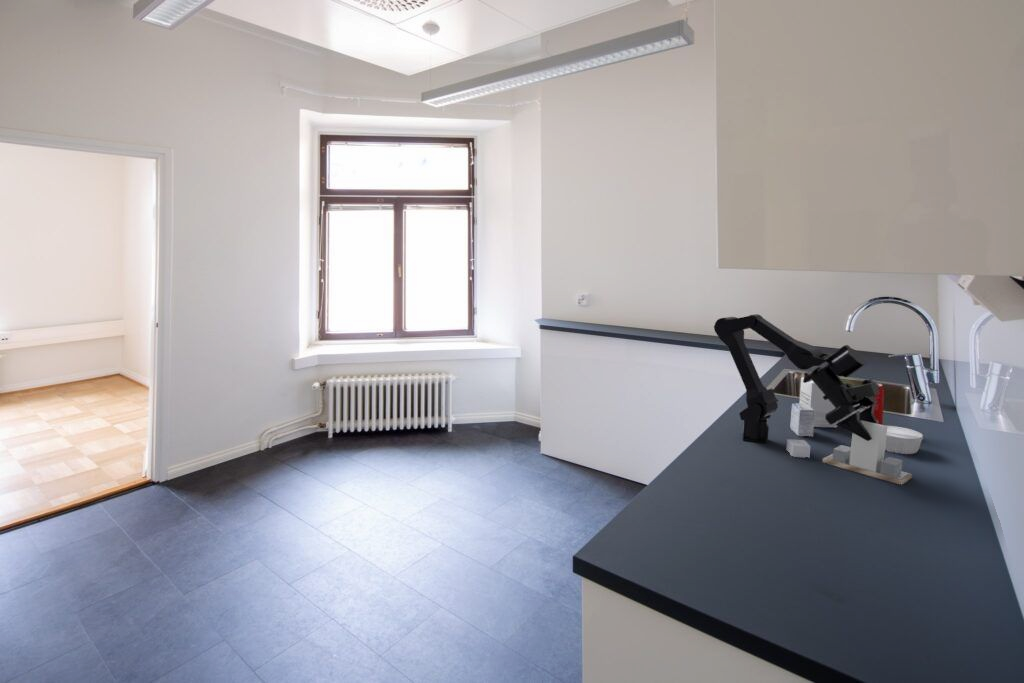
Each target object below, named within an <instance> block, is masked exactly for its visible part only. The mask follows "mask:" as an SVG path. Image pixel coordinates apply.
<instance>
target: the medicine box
mask: <svg viewBox="0 0 1024 683" xmlns="http://www.w3.org/2000/svg"><path fill="white" fill-rule="evenodd" d="M814 418H815V410H814V409H812V408H811V407H810V406H808V405H807V404H801V403H800V402H797V403H792V404H791V413H790V427H789V428H791V429H790V430H791V431H792V432H793V433H794V434H795V435H797V437H803V436H809V437H808V438H813V437H814V429H815V427H814ZM810 436H811V437H810Z"/></svg>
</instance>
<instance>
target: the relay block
mask: <svg viewBox="0 0 1024 683" xmlns="http://www.w3.org/2000/svg"><path fill="white" fill-rule="evenodd" d="M811 448H812V446H811V445H810V444H809V443H808V442H807V441H806V440H805V439H790V438H788V439H787V438H786V452H787V451H788V452H789V453H790V454H789V453H788V452H787V453H788V454H789V455H790V456H791V457H792V456H793V457H792V458H794V457H795V458H805V457H808V458H809V459H810V455H811ZM808 458H807V459H808Z"/></svg>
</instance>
